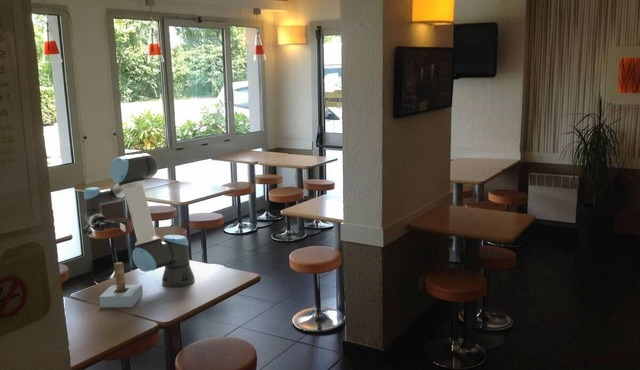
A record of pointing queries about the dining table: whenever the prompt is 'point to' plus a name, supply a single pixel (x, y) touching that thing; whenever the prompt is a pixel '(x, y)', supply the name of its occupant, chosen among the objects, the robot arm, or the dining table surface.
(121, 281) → the walnut peg
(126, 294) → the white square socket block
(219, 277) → the dining table surface
